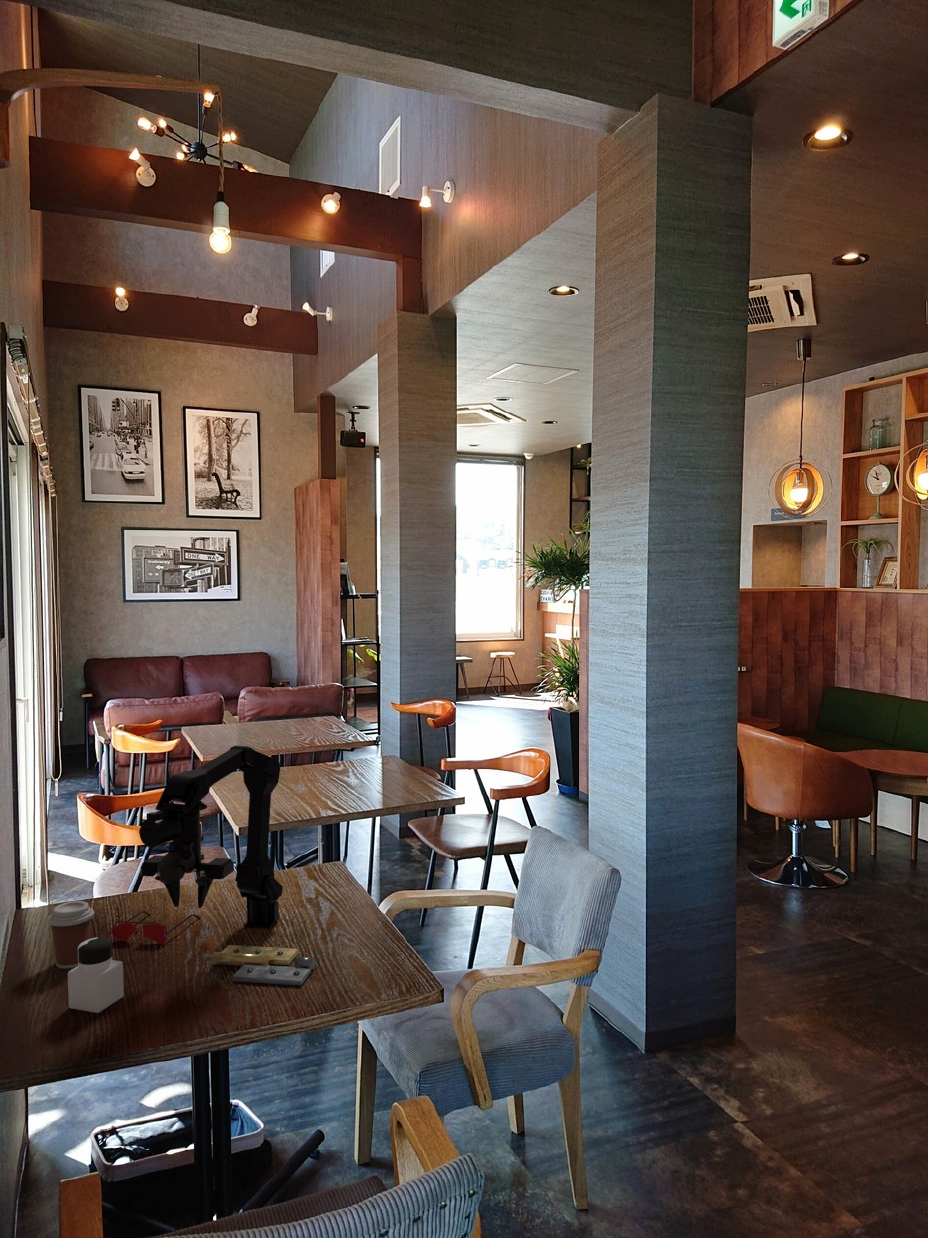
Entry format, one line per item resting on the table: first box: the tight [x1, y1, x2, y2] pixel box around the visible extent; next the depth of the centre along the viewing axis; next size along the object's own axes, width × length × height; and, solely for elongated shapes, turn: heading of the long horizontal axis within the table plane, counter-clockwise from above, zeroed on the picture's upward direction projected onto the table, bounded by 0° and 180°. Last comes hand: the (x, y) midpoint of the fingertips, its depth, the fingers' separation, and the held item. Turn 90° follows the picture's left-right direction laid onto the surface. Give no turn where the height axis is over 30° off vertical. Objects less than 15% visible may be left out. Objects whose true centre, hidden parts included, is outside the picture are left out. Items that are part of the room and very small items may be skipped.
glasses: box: [109, 910, 202, 945], centre depth 202 cm, size 14×16×5 cm
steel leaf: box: [232, 956, 316, 987], centre depth 177 cm, size 14×8×2 cm, turn 80°
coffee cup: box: [47, 900, 95, 970], centre depth 184 cm, size 9×9×12 cm
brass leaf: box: [210, 944, 299, 967], centre depth 184 cm, size 16×8×2 cm, turn 80°
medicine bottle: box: [67, 936, 125, 1014], centre depth 166 cm, size 7×7×12 cm
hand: (188, 907), depth 183 cm, fingers open, 5 cm apart
